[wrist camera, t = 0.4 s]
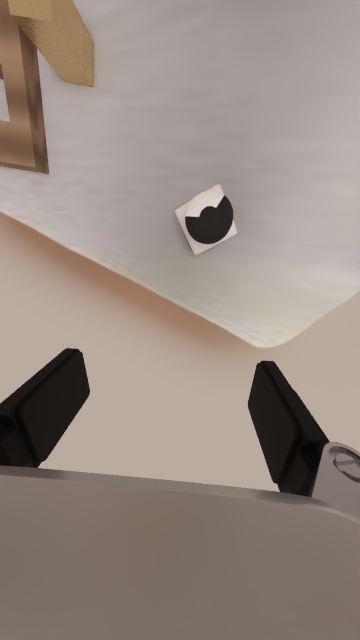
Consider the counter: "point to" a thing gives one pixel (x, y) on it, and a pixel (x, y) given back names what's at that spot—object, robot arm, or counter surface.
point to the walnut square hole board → (21, 99)
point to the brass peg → (58, 36)
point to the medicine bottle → (207, 219)
